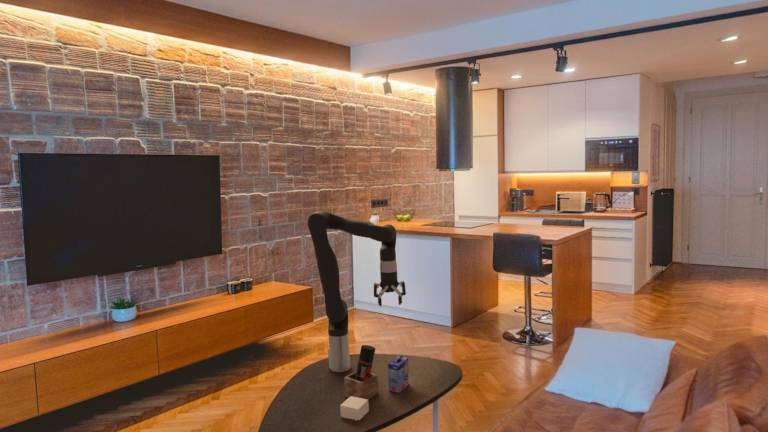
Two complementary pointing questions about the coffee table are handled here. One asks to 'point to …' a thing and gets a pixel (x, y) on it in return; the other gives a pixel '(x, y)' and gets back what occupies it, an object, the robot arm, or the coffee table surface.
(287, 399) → the coffee table surface
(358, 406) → the offwhite block
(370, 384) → the wooden box
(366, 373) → the deodorant
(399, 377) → the ink cartridge box
